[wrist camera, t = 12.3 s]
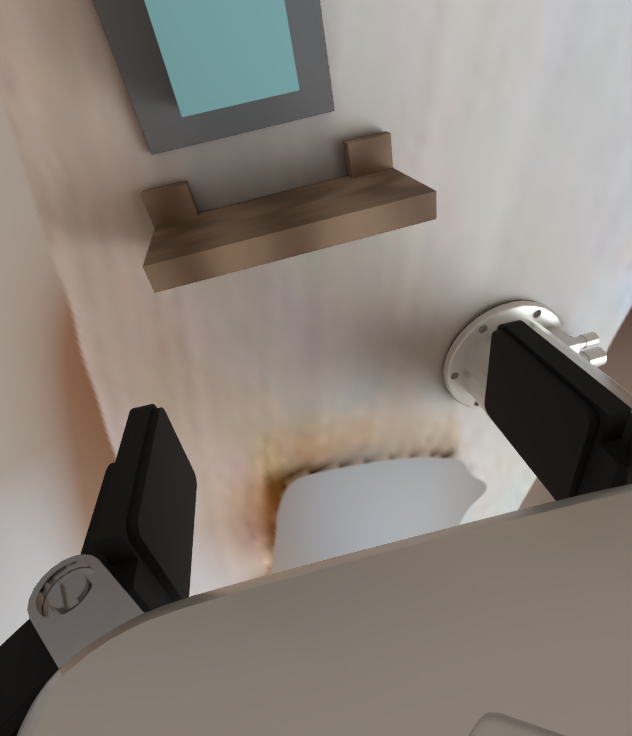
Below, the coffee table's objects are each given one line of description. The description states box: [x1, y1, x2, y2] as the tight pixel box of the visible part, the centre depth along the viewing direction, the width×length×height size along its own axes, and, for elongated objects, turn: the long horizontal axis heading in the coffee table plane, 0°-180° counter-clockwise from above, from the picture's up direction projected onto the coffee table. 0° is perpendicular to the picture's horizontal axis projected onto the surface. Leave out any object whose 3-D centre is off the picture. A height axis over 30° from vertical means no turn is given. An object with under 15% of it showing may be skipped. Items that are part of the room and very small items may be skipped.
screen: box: [141, 131, 436, 292], centre depth 27 cm, size 17×6×8 cm, turn 100°
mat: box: [93, 0, 335, 155], centre depth 24 cm, size 12×10×1 cm
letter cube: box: [144, 0, 299, 117], centre depth 21 cm, size 6×6×6 cm
